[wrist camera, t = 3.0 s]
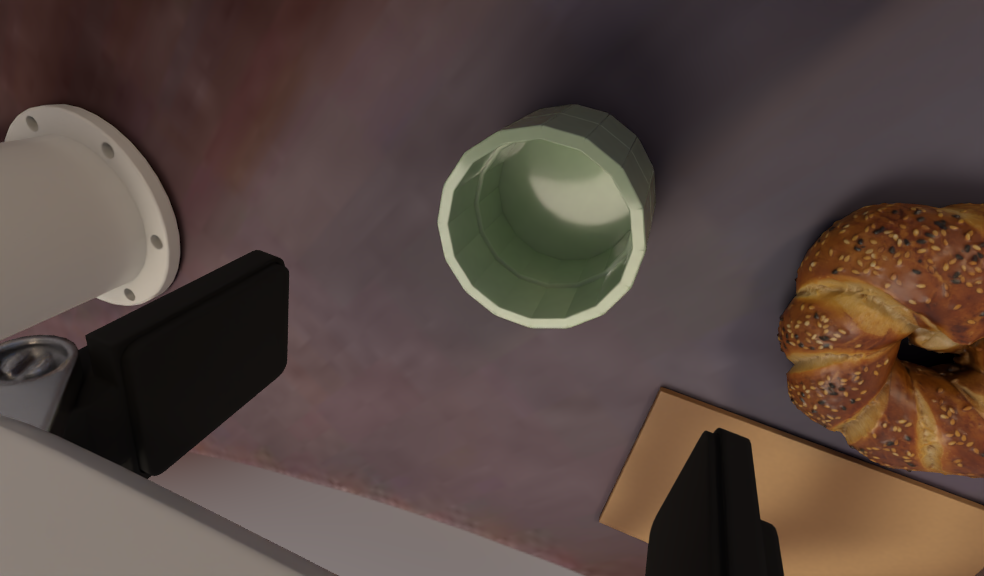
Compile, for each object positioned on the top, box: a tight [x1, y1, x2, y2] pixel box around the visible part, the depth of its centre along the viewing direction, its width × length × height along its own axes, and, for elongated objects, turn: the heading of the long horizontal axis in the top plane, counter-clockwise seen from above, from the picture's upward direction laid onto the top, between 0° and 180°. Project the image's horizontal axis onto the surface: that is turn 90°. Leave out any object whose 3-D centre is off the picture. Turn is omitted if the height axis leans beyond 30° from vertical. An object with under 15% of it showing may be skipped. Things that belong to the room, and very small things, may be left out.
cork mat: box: [599, 387, 984, 576], centre depth 27 cm, size 16×10×1 cm, turn 78°
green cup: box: [437, 104, 656, 328], centre depth 21 cm, size 7×7×6 cm
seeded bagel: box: [777, 203, 984, 478], centre depth 20 cm, size 12×11×4 cm
